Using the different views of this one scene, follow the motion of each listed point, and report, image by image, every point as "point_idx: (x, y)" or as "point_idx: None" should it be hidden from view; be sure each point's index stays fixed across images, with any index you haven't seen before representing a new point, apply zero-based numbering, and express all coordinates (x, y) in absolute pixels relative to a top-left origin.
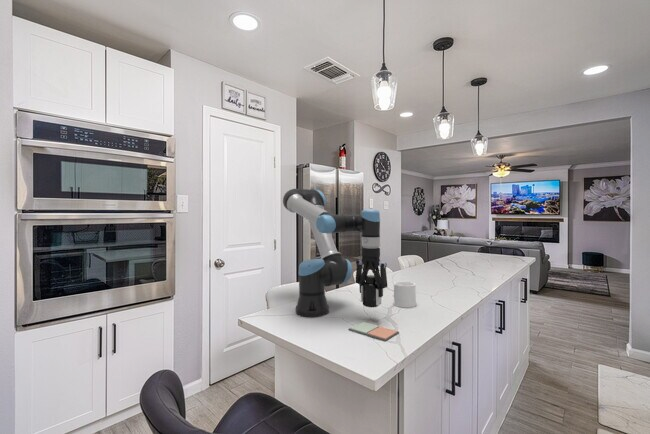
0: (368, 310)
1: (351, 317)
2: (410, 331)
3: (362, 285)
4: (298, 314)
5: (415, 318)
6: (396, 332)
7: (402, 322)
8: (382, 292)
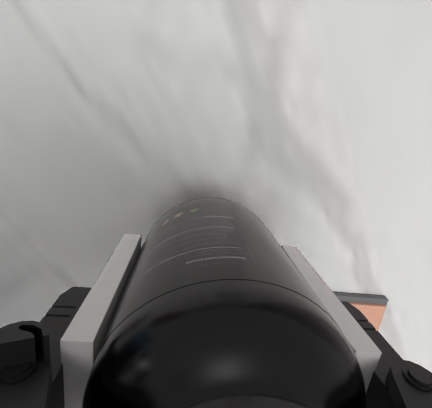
0: (92, 54)
1: (90, 240)
2: (426, 252)
3: (63, 393)
4: None
5: (428, 46)
6: (381, 315)
7: (369, 160)
8: (378, 344)
